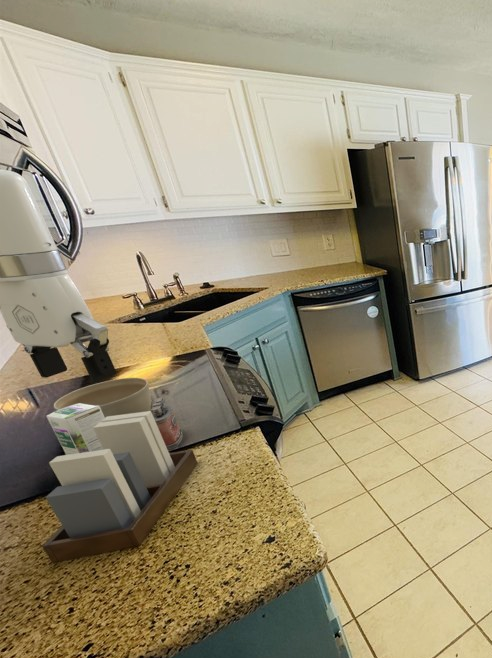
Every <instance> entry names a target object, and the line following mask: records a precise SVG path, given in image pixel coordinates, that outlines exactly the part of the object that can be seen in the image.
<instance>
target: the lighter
mask: <svg viewBox="0 0 492 658" xmlns="http://www.w3.org/2000/svg"><path fill="white" fill-rule="evenodd" d="M151 407H152V411H153V412H152V415H153V417H154V420H155V422H156V424H157V426H158V429H159V431H160V433H161V436H162V438H163V440H164V443H165V445H166V447H167V450H171V449H174V448H176V447H178V446H179V445H180V443H181V442H182V439H183V436H184V435H183V434H184V433H183V431H182V429H181V428H180V426H179V424H178V422H177V417H176V415H175V414H174V412H173V406H172V404H166V401H165V398H164V397H158V398H157V399H156V402H155V403H152V404H151ZM181 434H182V435H181Z"/></svg>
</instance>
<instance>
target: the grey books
mask: <svg viewBox="0 0 492 658" xmlns="http://www.w3.org/2000/svg"><path fill="white" fill-rule="evenodd" d="M113 456H114V458H115V460H116V462H117V464H118V466H119V468H120V470H121V472H122V474H123V476H124V478H125V480H126V482H127V484H128V486H129V488H130V490H131V492H132V494H133V496H134V498H135V500H136V502H137V504H138V506H139V508H140V510H141V511H142V509H143V508H144V507H145V505H146V504H147V503H148V502H149V500H150V499H151V496H150V494H149V492H148V490H147V488H146V486H145V484H144V482H143V480H142V477H141V475H140V473H139V471H138V469H137V467H136V465H135V463H134V461H133V458H132V456H131V454H130V452H126V453H119V454H113ZM45 499H46V501H47V502H48V504H49V506H50V508H51V510H52V511H53V513H54V514H55V516H56V518H57V519H58V521H59V523H60V524H61V526H63V527H64V529H65V531H66V532H67V534H68V536H69V537H70V538H74V537H80V536H85V535H90V534H96V533H101V532H107V531H112V530H117V529H123V528H128V527H129V526H130V525H131V524H132V522H133V520H132V518H131V516H130V515H129V513H128V511H127V509H126V507H125V505H124V503H123V501H122V499H121V497H120V495H119V493H118V491H117V489H116V487H115V485H114V483H113V481H112V480H111V478H109V479H103V480H97V481H90V482H84V483H78V484H72V485H65V486H62V485H60V486H57V487H55V488H54V489H53V490H52V491H51V492H50V493H48V494H47V495H46V496H45Z"/></svg>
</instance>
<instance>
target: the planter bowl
mask: <svg viewBox="0 0 492 658" xmlns="http://www.w3.org/2000/svg"><path fill="white" fill-rule="evenodd" d="M78 403H81V404H88V405H94V406H100V408H101V411H102V413H103V415H104V417H105V418H106V417H108V416H116V415H123V414H131V413H139V412H147V411H151V409H152V394H151V390H150V385H149V381H148V380H147V379H145V378H142V377H123V378H115V379H111V380H105V381H102V382H98V383H97V382H96V383H94V384H90V385H87V386H84V387H80V388H78V389H76V390H73V391H71V392H69V393H67V394H65V395H62V396H60V398H58V399H57V400H56V401H54V403H53V409H54V410H55V411H58V410H60V409H63V408H65V407H68V406H71V405H75V404H78Z"/></svg>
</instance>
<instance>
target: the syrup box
mask: <svg viewBox="0 0 492 658" xmlns="http://www.w3.org/2000/svg"><path fill="white" fill-rule="evenodd" d="M104 418H105V417H104V415H103V413H102V411H101V408H100V406H94V405H88V404H81V403H78V404H75V405H71V406H68V407H65V408H63V409H60V410H58V411H56V410H55V411H53V412H51V413H49V414H47V415H46V419H47V421H48V423H49V424H50V426H51V429H52V430H53V432H54V434H55V436H56V437H57V440H58V442H59V444H60V446H61V447H62V449H63V452H64V454H65V455H70V454H77V453H84V452H91V451H98V450H104V449H103V447H102V445H101V443H100V441H99V439H98V437H97V435H96V433H95V431H94V429H93V427H94V426H96V425H97V424H98V423H101V421H102V420H103V419H104Z"/></svg>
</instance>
